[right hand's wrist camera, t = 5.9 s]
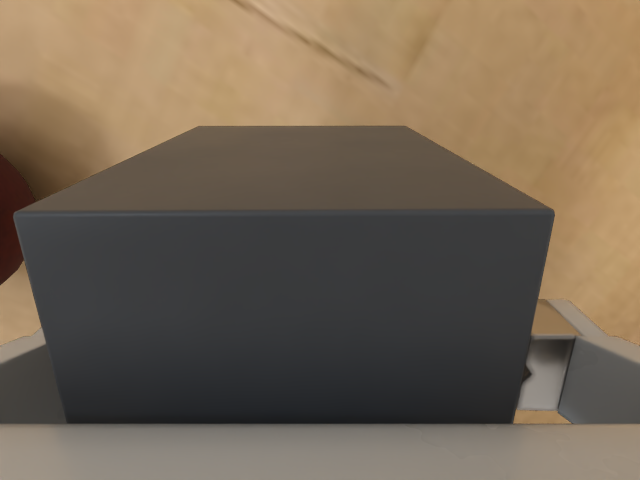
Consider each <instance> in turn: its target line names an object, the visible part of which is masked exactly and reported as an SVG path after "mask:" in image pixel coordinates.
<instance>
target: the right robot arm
mask: <svg viewBox="0 0 640 480" xmlns="http://www.w3.org/2000/svg"><path fill="white" fill-rule="evenodd" d="M516 409H517V410H541V411H558V413H559V414H560V415H561V416H563V417H564V418H566V419H567V420H568V421H570V422H571V423H572V424H67V422H66V418H65V414H64V411H63V407H62V403H61V399H60V395H59V391H58V388H57V384H56V380H55V376H54V372H53V368H52V365H51V361H50V357H49V353H48V349H47V345H46V342H45V338H44V334H43V330H42V327H41V328H40V329H39V330H38V331H37V332H35V333H34V334H33V335H32V336H23V337H21V338H18V339H16V340H13V341H11V342H8V343H6V344H3V345H1V346H0V480H640V346H639V345H637V344H634V343H632V342H629V341H627V340H624V339H622V338H619V337H617V336H608V335H607V334H606V333H605V332H603V331H602V330H601V329H600V328H599V327H598V326H597V325H596V324H595V323H594V322H592V321H591V320H590V319H589V318H588V317H587V316H586V315H585V314H584V313H582V312H581V311H580V310H579V309H578V308H577V307H576V306H575V305H574V304H572V303H571V302H570V301H569V300H566V299H547V300H545V299H538V301H537V306H536V311H535V316H534V321H533V326H532V331H531V336H530V341H529V346H528V351H527V356H526V361H525V366H524V371H523V376H522V381H521V386H520V391H519V396H518V401H517V406H516Z"/></svg>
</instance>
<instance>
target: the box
mask: <svg viewBox="0 0 640 480" xmlns="http://www.w3.org/2000/svg"><path fill="white" fill-rule="evenodd" d="M554 216H555V214H554V210H553V209H551V208H549V207H547V206H546V205H544V204H542V203H540V202H539V201H537V200H535V199H533V198H532V197H530V196H528V195H526V194H525V193H523V192H521V191H519V190H517V189H516V188H514V187H512V186H510V185H509V184H507V183H505V182H503V181H502V180H500V179H498V178H496V177H495V176H493V175H491V174H489V173H488V172H486V171H484V170H482V169H480V168H479V167H477V166H475V165H473V164H472V163H470V162H468V161H466V160H465V159H463V158H461V157H459V156H458V155H456V154H454V153H452V152H451V151H449V150H447V149H445V148H443V147H442V146H440V145H438V144H436V143H435V142H433V141H431V140H429V139H428V138H426V137H424V136H422V135H421V134H419V133H417V132H415V131H414V130H412V129H410V128H408V127H406V126H198V127H196V128H193V129H191V130H189V131H187V132H185V133H183V134H181V135H178V136H176V137H174V138H172V139H170V140H168V141H166V142H164V143H161V144H159V145H157V146H155V147H153V148H151V149H149V150H146V151H144V152H142V153H140V154H138V155H136V156H134V157H131V158H129V159H127V160H125V161H123V162H121V163H119V164H117V165H114V166H112V167H110V168H108V169H106V170H104V171H102V172H99V173H97V174H95V175H93V176H91V177H89V178H87V179H84V180H82V181H80V182H78V183H76V184H74V185H72V186H70V187H67V188H65V189H63V190H61V191H59V192H57V193H55V194H52V195H50V196H48V197H46V198H44V199H42V200H40V201H37V202H35V203H33V204H31V205H29V206H27V207H25V208H22V209H20V210H18V211H16V212H15V213H14V215H13V219H14V223H15V227H16V230H17V234H18V238H19V242H20V246H21V250H22V253H23V257H24V261H25V265H26V269H27V273H28V276H29V280H30V284H31V288H32V292H33V296H34V299H35V303H36V307H37V311H38V315H39V319H40V322H41V326H42V330H43V334H44V338H45V342H46V345H47V349H48V353H49V357H50V361H51V365H52V368H53V372H54V376H55V380H56V384H57V388H58V391H59V395H60V399H61V403H62V407H63V411H64V414H65V418H66V422H67V424H513V421H514V416H515V411H516V406H517V401H518V396H519V391H520V386H521V381H522V376H523V371H524V366H525V361H526V356H527V351H528V346H529V341H530V336H531V331H532V326H533V321H534V316H535V311H536V306H537V301H538V296H539V291H540V286H541V281H542V276H543V271H544V266H545V261H546V256H547V251H548V246H549V241H550V236H551V231H552V226H553V221H554Z"/></svg>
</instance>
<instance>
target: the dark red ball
mask: <svg viewBox="0 0 640 480" xmlns="http://www.w3.org/2000/svg"><path fill="white" fill-rule="evenodd" d="M33 203H35V199H34V197H33V195H32V193H31V191H30V189H29V187H28V185H27V183H26V181H25V180H24V179H23V177H22V176H21V174H20V173H19V172H18V171H17V170H16V169H15V168H14V167H13V166H12V165H11V164H10V163H9V162H8V161H7V160H6V159H5V158H4V157H3V156H2V155H1V154H0V285H1V284H2V283H3V282H5V281H6V280H7V279H8V278H9V277H10V276H11V275H12V274H13V273H15V272H16V271H17V270H18V268H19V266H20V265H21V263H22V262H23V260H24V257H23V253H22V250H21V246H20V242H19V238H18V234H17V230H16V227H15V223H14V219H13V215H14V213H15V212H16V211H18V210H20V209H22V208H25V207H27V206H29V205H31V204H33Z"/></svg>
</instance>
